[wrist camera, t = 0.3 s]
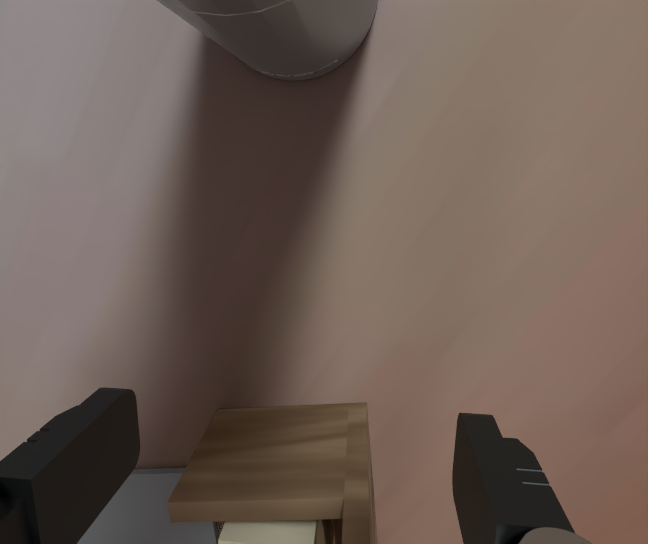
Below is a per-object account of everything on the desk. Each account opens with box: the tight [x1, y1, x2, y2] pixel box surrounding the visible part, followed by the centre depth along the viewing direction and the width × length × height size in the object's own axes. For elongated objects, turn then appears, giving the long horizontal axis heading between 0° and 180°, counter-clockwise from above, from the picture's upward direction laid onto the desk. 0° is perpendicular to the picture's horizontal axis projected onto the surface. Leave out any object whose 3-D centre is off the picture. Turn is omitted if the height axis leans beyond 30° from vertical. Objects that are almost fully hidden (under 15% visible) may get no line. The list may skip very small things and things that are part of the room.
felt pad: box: [77, 467, 219, 544], centre depth 36 cm, size 11×11×1 cm
